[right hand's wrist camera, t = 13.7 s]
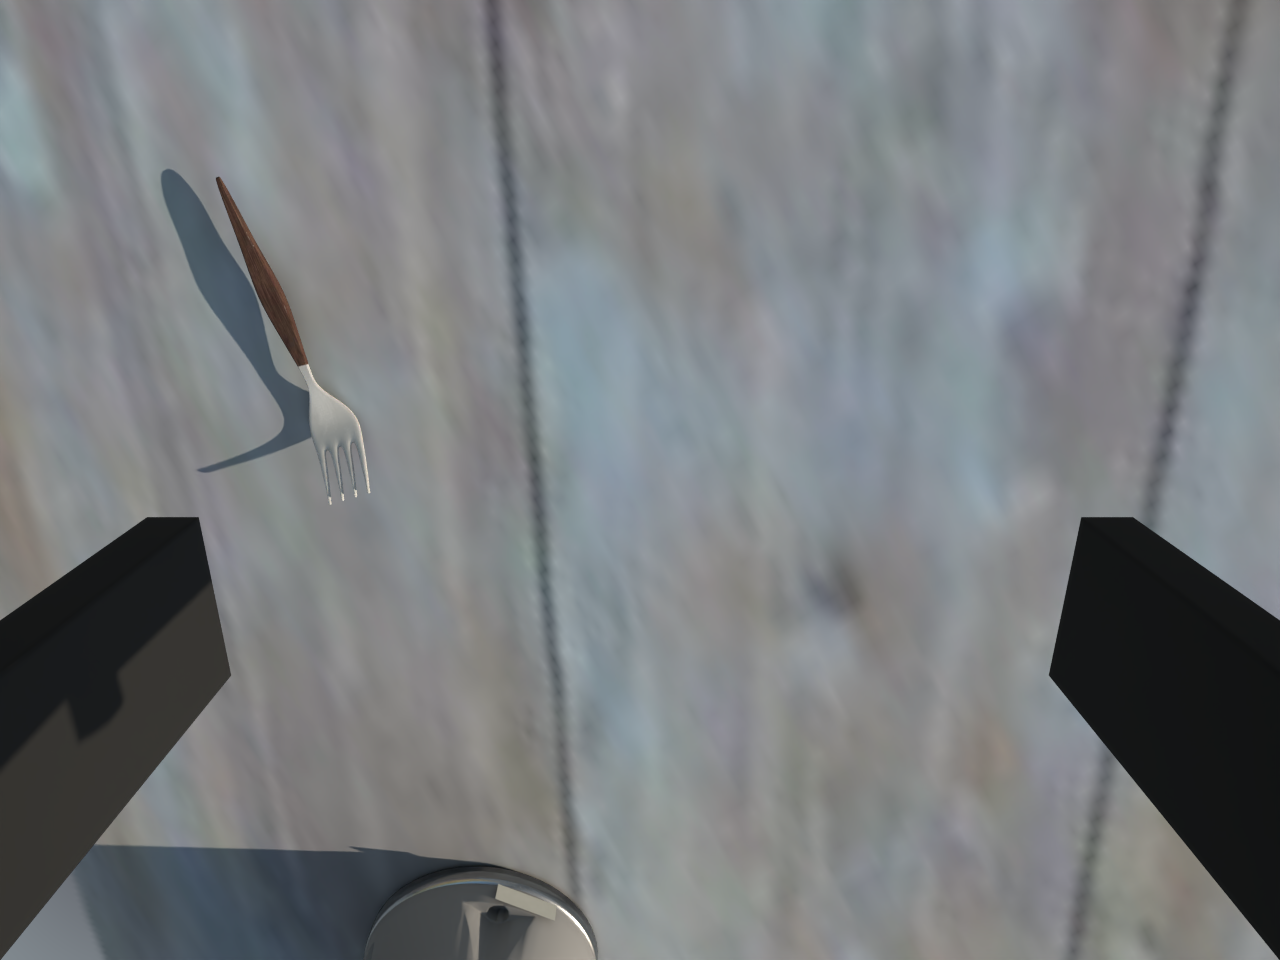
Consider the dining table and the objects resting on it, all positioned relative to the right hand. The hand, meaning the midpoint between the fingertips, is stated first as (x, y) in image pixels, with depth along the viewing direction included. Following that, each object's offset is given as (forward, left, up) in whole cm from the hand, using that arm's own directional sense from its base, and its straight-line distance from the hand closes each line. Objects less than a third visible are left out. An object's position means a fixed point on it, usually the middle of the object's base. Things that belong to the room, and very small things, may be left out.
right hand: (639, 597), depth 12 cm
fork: (-16, +7, -30) cm, 34 cm away
